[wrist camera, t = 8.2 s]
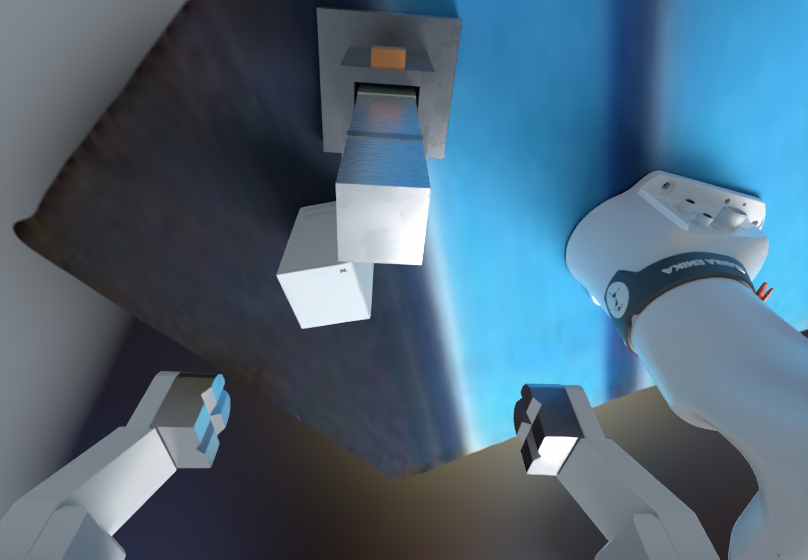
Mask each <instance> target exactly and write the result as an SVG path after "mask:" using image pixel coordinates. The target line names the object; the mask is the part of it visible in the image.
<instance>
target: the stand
mask: <svg viewBox="0 0 808 560" xmlns="http://www.w3.org/2000/svg"><path fill="white" fill-rule="evenodd" d="M461 23H462V19H461V18H459V17H452V16H440V15H428V14H415V13H403V12H391V11H378V10H366V9H354V8H341V7H329V6H319V7H317V25H318V45H319V65H320V85H321V105H322V125H323V145H324V152H336V153H342V156H343V152H344V148H345V144H346V140H347V138H346V135H347V131H348V130H349V128H350V124H351V120H352V116H353V112H354V108H355V104H356V100H357V96H358V89H359V87H360V84H361V82H365V83H380V84H394V85H408V86H413V87H414V90H415V94H416V105H417V111H418V117H419V123H420V129H421V135H423V140H424V141H423V147H424V152H425V158H437V159H444V151H445V144H446V136H447V129H448V121H449V114H450V106H451V99H452V91H453V83H454V76H455V68H456V61H457V53H458V46H459V38H460V31H461Z"/></svg>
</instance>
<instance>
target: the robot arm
mask: <svg viewBox="0 0 808 560" xmlns="http://www.w3.org/2000/svg"><path fill="white" fill-rule="evenodd" d="M665 183H667V184H666V185H665V186H664V187H663V185H664V184H665ZM765 214H766V205H765V203H764V202H763V201H762V200H761V199H759V198H757V197H754V196H750V195H747V194H743V193H740V192H736V191H732V190H729V189H725V188H722V187H718V186H715V185H711V184H707V183H704V182H700V181H697V180H693V179H690V178H686V177H682V176H679V175H675V174H672V173H668V172H665V171H660V170H657V171H653V172H651V173H649V174H648V175H646V176H645V177H644V178H642V179H641V180H640V181H639V182H638V183H636V184H635V185H634V186H633V187H632V188H631V189H629V190H628V191H626V192H624V193H622V194H620V195H617V196H615V197H613V198H611V199H609V200H607V201H605V202H604V203H602V204H600V205H599V206H597V207H596V208H595V209H593V210H592V211H591V212H590V213H589V214H588V215H586V216H585V217H584V218H583V220H582V221H581V222H580V223H579V224H578V226H577V227H576V228H575V230H574V232H573V233H572V235H571V237H570V239H569V242H568V245H567V249H566V263H567V267H568V269H569V271H570V273H571V274H572V276H573V277H574V278H575V279H576V280H577V281H579V282H580V283H581V284H582V285H583V286H584V287H585V288H586V289H587V290H588V293H589V296H590V298H591V299H592V300H593V301H594V303H595V304H597V305H600V306H601V307H602V308H603V309H604V311H605V312H606V313H607V314H608V315H609V317H610V318H611V320H612V322H613V324H614V326H615V328H616V330H617V331H618V333H619V334H620V336H621V337H622V340H623V342H624V343H625V344H626V345H627V346H628V348H629V349H630V350H631V351H632V353H634V354H635V355H637V356H638V357H639V358H640V359H641V361H642V362H643V364H644V366H645V367H646V369H647V370H648V372H649V374H650V375H651V377H652V378H653V380H654V382H655V383H656V385H657V386H658V388H659V389H660V391H661V393H662V394H663V396H664V398H665V399H666V401H667V403H668V404H669V406H670V407H671V409H672V410H673V411H674V412H675V413H676V414H677V415H678V416H679V417H681V418H682V419H683V420H685V421H687V422H689V423H690V424H693V425H695V426H698V427H701V428H706V429H711V430H717V431H719V432H720V433H721V434H722V435H723V436H725V437H726V438H727V439H728V440H729V441H730V442H731V443H732V444H733V445H734V446H735V447H736V448H737V449H738V450H739V451H740V452H741V453H742V454H743V455H744V456H745V458H746V459H747V461H748V462H749V463H750V465H751V466H752V469H753V470H754V472H755V475H756V478H757V480H758V484H759V488H760V490H759V491H758V493H757V494H756V495H755V497H754V498H753V499H752V501H751V502H750V504H749V505H748V506H747V508H746V509H745V510H744V512H743V513H742V514H741V516H740V517H739V519H738V520H737V522H736V523H735V525H734V528H733V531H732V535H731V541H730V548H729V557H728V560H808V339H807V338H805V337H804V336H803V335H802V334H801V333H800V332H798V331H797V330H796V329H795V328H794V327H792V326H791V325H790V324H789V323H788V322H787V321H785V320H784V319H783V318H782V317H781V316H779V315H778V314H777V313H776V312H775V311H774V310H773V309H771V308H770V307H769V306H768V305H767V304H766V303H765V301H766V299H767V298H768V297H769V295H770V294H771V293H772V291H773V290H774V289H773V288H771V289H769V290H768V291H767V292H766V293H765V290H766V287H767V284H768V283H766V282H764V283H763V284H762V285H761V286H760V288H759V289H758V290H757V292H755V289H754V286H753V284H752V281H753V279H754V278H755V276H756V275H757V274H758V272H759V270H760V269H761V267H762V265H763V263H764V261H765V259H766V257H767V254H768V250H769V242H768V238H767V236H766V235H765V234H764V233H763V232H762V231H761V228H762V225H763V222H764V219H765ZM764 293H765V294H764ZM763 294H764V295H763ZM762 296H763V297H762ZM224 384H225V381H224V378H223V375H222V374H205V373H187V372H166V371H161V372H160V373H159V374H158V375H156V376H155V377H154V379H153V381H152V383H151V384H150V386H149V388H148V390H147V391H146V393H145V395H144V397H143V398H142V400H141V402H140V403H139V405H138V407H137V409H136V410H135V412H134V414H133V415H132V417H131V419H130V421H129V422H128V424H127V426H126V427H119V428H118V429H116V430H115V431H114V432H112V433H111V434H110V435H108V436H106V437H105V438H104V439H102V440H101V441H100V442H98V443H97V444H95V445H94V446H93V447H91V448H90V449H88V450H87V451H86V452H84V453H83V454H81V455H80V456H79V457H77V458H76V459H74V460H73V461H72V462H71V463H69V464H68V465H66V466H65V467H64V468H62V469H61V470H59V471H58V472H56V473H55V474H54V475H52V476H51V477H50V478H48V479H47V480H45V481H44V482H42V483H41V484H40V485H38V486H37V487H35V488H34V489H33V490H31V491H30V492H28V493H27V494H26V495H24V496H23V497H21V498H20V499H19V500H17V501H16V502H14V504H13V505H12V507H11V508H10V510H9V511H8V512H7V514H6V515H5V517H4V518H3V520H2V521H1V522H0V560H124V558H125V556H126V555H125V552H124V550H123V548H122V547H121V546H120V545H119V544H118V543H117V542H116V541H115V539H114V538H113V537H112V535H113V534H114V533H115V532H116V531H117V530H118V529H119V528H120V527H121V526H122V525H123V524H124V523H125V522H126V521H127V520H128V519H129V518H130V517H131V516H132V515H133V514H134V513H135V512H136V511H137V510H138V509H139V508H140V507H141V506H142V505H143V504H144V503H145V502H146V501H147V499H148V498H149V497H150V496H151V495H152V494H153V493H154V492H155V491H156V490H157V489H158V488H159V487H160V486H161V485H162V484H163V483H164V482H165V481H166V480H167V479H168V478H169V477H170V476H171V475H172V474H173V473H174V472H175V471H176V468H210V467H211V465H212V462H213V460H214V457H215V454H216V451H217V448H218V446H219V441H218V438H217V434H219V433H220V432H221V431H222V430H223V429H224V428H225V426H226V424H227V421H228V418H229V412H230V397H229V394H228V392H226V391H225V390H223V386H224ZM521 395H522V399H520V400H519V401H517V402H516V405H515V408H514V418H513V419H514V427H515V431H516V435H517V436H518V437H519V438H520V439H521V441H522V442H523V443H524V444H523V446H522V448H521V450H520V451H521V455H522V459H523V462H524V466H525V470H526V474H536V475H557V478H558V479H559V480H560V481H561V483H562V484H563V485H564V486H565V488H566V489H567V490H568V491H569V493H570V494H571V495H572V496H573V497H574V499H575V500H576V501H577V502H578V503H579V505H580V506H581V507H582V508H583V510H584V511H585V512H586V513H587V515H588V516H589V517H590V518H591V520H592V521H593V522H594V523H595V524H596V526H597V527H598V528H599V529H600V531H601V532H602V533H603V534H604V536H605V537H606V538H607V539H608V541H609V542H608V543H607V544H606V545H605V546H604V547H603V548H602V549H601V550H600V551H599V553H598V554H597V556H596V557H595V560H720V559H719V557H718V555H717V553H716V551H715V550H714V548H713V546H712V544H711V542H710V540H709V539H708V537H707V535H706V533H705V531H704V529H703V527H702V526H701V524H700V522H699V520H698V518H697V516H696V515H695V513H694V512H693V511H692V510H691V509H690V508H688V507H687V506H686V505H685V504H684V503H683V502H682V501H680V500H679V499H678V498H677V497H676V496H675V495H674V494H672V493H671V492H670V491H669V490H668V489H667V488H666V487H665V486H663V485H662V484H661V483H660V482H659V481H658V480H656V479H655V478H654V477H653V476H652V475H651V474H650V473H649V472H648V471H646V470H645V469H644V468H643V467H642V466H641V465H640V464H638V463H637V462H636V461H635V460H634V459H633V458H632V457H630V456H629V455H628V454H627V453H626V452H625V451H624V450H622V449H621V448H620V447H619V446H618V445H617V444H616V443H615V442H613V441H612V440H611V439H610V440H609V439H605V436H604V434H603V432H602V430H601V427H600V425H599V423H598V421H597V419H596V417H595V415H594V412H593V410H592V407H591V405H590V403H589V401H588V398H587V396H586V394H585V392H584V390H583V388H582V387H581V386H579V385H560V384H525V385H524V386H523V387H522V390H521Z"/></svg>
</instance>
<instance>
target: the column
mask: <svg viewBox="0 0 808 560" xmlns="http://www.w3.org/2000/svg"><path fill="white" fill-rule="evenodd" d="M346 138H347V140H346V144H345V148H344V152H343V156H342V160H341V164H340V168H339V172H338V176H337V180H336V209H337V239H338V261H344V262H367V263H390V264H413V265H422V257H423V248H424V240H425V231H426V223H427V214H428V206H429V198H430V189H431V188H430V182H429V176H428V170H427V164H426V158H425V152H424V147H423V141H424V140H423V135H421V129H420V123H419V117H418V111H417V105H416V94H415V90H414V87H413V86H408V85H394V84H380V83H365V82H361V84H360V87H359V89H358V96H357V100H356V104H355V108H354V112H353V116H352V120H351V124H350V128H349V130H348V131H347V135H346Z"/></svg>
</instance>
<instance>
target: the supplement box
mask: <svg viewBox="0 0 808 560" xmlns="http://www.w3.org/2000/svg"><path fill="white" fill-rule="evenodd" d="M373 264H374V263H367V262H344V261H338V239H337V209H336V201H334V202H328V203H323V204H317V205H312V206H306V207H302V208H300V210H299V213H298V215H297V218H296V221H295V224H294V227H293V229H292V232H291V235H290V238H289V241H288V244H287V247H286V249H285V252H284V255H283V258H282V261H281V263H280V266H279V269H278V272H277V274H276V276H277V278H278V280H279V282H280V284H281V286H282V288H283V290H284V292H285V295H286V297H287V299H288V301H289V303H290V305H291V307H292V309H293V311H294V313H295V315H296V317H297V319H298V321H299V324H300V326H301V328H310V327H316V326H322V325H329V324H335V323H341V322H348V321H355V320H363V319H369V318H370V314H371V301H372V283H373Z"/></svg>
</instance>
